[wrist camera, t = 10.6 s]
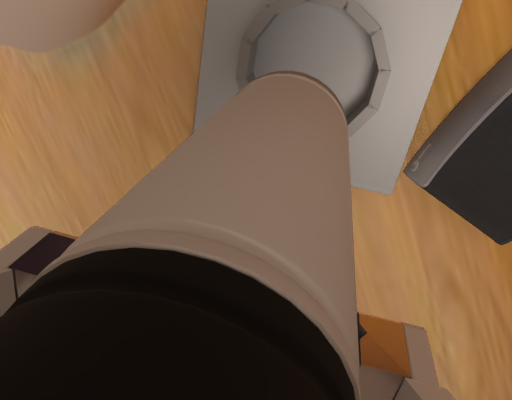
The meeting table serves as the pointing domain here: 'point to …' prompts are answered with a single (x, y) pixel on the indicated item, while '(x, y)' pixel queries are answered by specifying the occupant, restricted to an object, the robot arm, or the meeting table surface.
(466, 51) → the meeting table surface
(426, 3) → the mug holder
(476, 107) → the external hard drive
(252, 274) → the travel mug
